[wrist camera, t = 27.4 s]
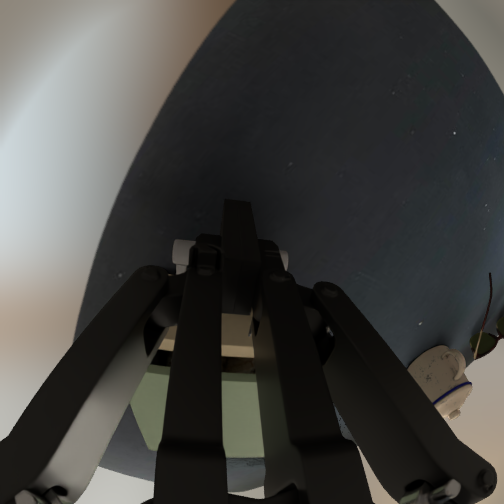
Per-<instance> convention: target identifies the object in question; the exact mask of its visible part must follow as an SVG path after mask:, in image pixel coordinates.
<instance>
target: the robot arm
mask: <svg viewBox="0 0 504 504" xmlns="http://www.w3.org/2000/svg"><path fill="white" fill-rule="evenodd" d="M251 310H253V316H252V321H251V325H250V329H249V334H248V336H249V337H251V333H252V341H253V351H254V361H255V371H256V381H257V391H258V400H259V410H260V420H261V429H262V439H263V448H264V457H265V466H266V475H265V480H264V495H265V498H264V499H255V498H249V497H244V496H239V495H234V494H229V493H228V488H227V468H226V454H225V449H224V446H223V427H222V313H224V314H236V315H249V316H250V314H251ZM171 326H177V330H176V336H175V342H174V348H173V355H172V361H171V368H170V375H169V382H168V389H167V397H166V405H165V413H164V422H163V432H162V439H161V441H160V443H159V445H158V450H157V457H156V468H155V482H154V498H152V499H149V500H147V501H145V502H143V503H141V504H375V503H373V501H372V497H371V494H370V490H369V486H368V482H367V478H366V475H365V471H364V467H363V464H362V460H361V457H360V453H359V450H358V448H357V446H356V444H355V443H354V442H353V441H352V440H348V439H345V438H344V437H343V436H342V433H341V430H340V427H339V423H338V419H337V416H336V412H335V409H334V405H335V406H336V408H337V410H338V412H339V413H340V415H341V417H342V419H343V420H344V422H345V424H346V426H347V427H348V429H349V431H350V432H351V434H352V436H353V438H354V439H355V441H356V443H357V445H358V446H359V448H360V450H361V452H362V453H363V455H364V457H365V458H366V460H367V462H368V464H369V465H370V467H371V469H372V470H373V472H374V474H375V476H376V477H377V479H378V480H379V482H380V483H381V485H382V486H383V488H384V489H385V490H386V491H387V492H388V494H389V495H390V496H391V497H392V498H393V499H395V500H396V501H397V502H398V503H399V504H475V503H477V502H479V501H481V500H483V499H485V498H487V497H488V496H490V495H491V494H492V493H493V491H494V489H495V488H496V484H497V474H496V471H495V469H494V467H493V466H492V465H491V464H490V463H489V462H487V461H486V460H485V459H483V458H482V457H481V456H479V455H478V454H477V453H475V452H474V451H473V450H472V449H470V448H469V447H468V446H466V445H465V444H463V443H462V442H461V441H459V439H457V437H456V436H455V434H454V433H453V431H452V430H451V428H450V427H449V426H448V424H447V423H446V421H445V420H444V419H443V417H442V416H441V414H440V413H439V412H438V410H437V409H436V408H435V406H434V405H433V403H432V402H431V401H430V399H429V398H428V397H427V395H426V394H425V393H424V391H423V390H422V389H421V387H420V386H419V385H418V383H417V382H416V381H415V379H414V378H413V377H412V375H411V374H410V373H409V372H408V370H407V369H406V368H405V366H404V365H403V364H402V362H401V361H400V360H399V359H398V357H397V356H396V355H395V354H394V352H393V351H392V350H391V349H390V347H389V346H388V345H387V343H386V342H385V341H384V340H383V339H382V337H381V336H380V335H379V334H378V332H377V331H376V330H375V329H374V327H373V326H372V325H371V324H370V322H369V321H368V320H367V319H366V318H365V316H364V315H363V314H362V313H361V312H360V310H359V309H358V308H357V307H356V306H355V304H354V303H353V302H352V301H351V300H350V298H349V297H348V296H347V295H346V294H345V293H344V291H343V290H342V289H341V288H340V287H338V286H337V285H335V284H333V283H330V282H322V281H321V282H317V283H316V284H315V285H314V287H313V289H310V288H307V287H303V286H300V285H298V284H296V282H295V279H294V277H293V276H292V274H290V273H289V272H288V271H285V267H284V264H283V261H282V258H281V254H280V251H279V248H278V246H277V245H276V244H275V243H274V242H273V241H270V240H262V239H257V234H256V229H255V224H254V219H253V214H252V208H251V203H250V202H246V201H238V200H230V199H225V200H224V207H223V214H222V222H221V229H220V235H211V234H200V235H199V236H198V237H197V238H196V242H195V245H193V246H191V248H190V249H189V263H188V270H187V271H185V272H184V273H181V274H176V275H168V272H167V271H166V270H165V269H164V268H162V267H159V266H154V265H150V266H144V267H141V268H139V269H137V270H136V271H135V272H134V273H133V274H132V275H131V276H130V278H129V279H128V280H127V281H126V282H125V283H124V284H123V285H122V286H121V288H120V289H119V290H118V291H117V292H116V293H115V294H114V296H113V297H112V298H111V299H110V300H109V301H108V302H107V304H106V305H105V306H104V307H103V308H102V309H101V311H100V312H99V313H98V314H97V315H96V316H95V318H94V319H93V320H92V321H91V322H90V324H89V325H88V326H87V327H86V329H85V330H84V331H83V332H82V333H81V335H80V336H79V337H78V338H77V340H76V341H75V342H74V343H73V345H72V346H71V347H70V349H69V350H68V351H67V352H66V354H65V355H64V356H63V358H62V359H61V360H60V362H59V363H58V364H57V365H56V367H55V368H54V370H53V371H52V372H51V373H50V375H49V376H48V378H47V379H46V380H45V382H44V383H43V384H42V386H41V387H40V389H39V390H38V392H37V393H36V395H35V396H34V397H33V399H32V400H31V402H30V403H29V405H28V406H27V407H26V409H25V410H24V412H23V413H22V415H21V417H20V418H19V420H18V421H17V423H16V424H15V426H14V427H13V429H12V431H11V432H10V434H9V436H7V437H6V438H4V439H3V440H2V441H0V504H74V503H75V502H76V501H77V500H78V499H79V497H80V496H81V495H82V494H83V492H84V491H85V490H86V488H87V486H88V484H89V483H90V481H91V479H92V477H93V475H94V473H95V471H96V469H97V467H98V464H99V462H100V460H101V458H102V456H103V454H104V452H105V450H106V448H107V446H108V444H109V442H110V440H111V438H112V436H113V434H114V432H115V430H116V428H117V426H118V424H119V422H120V420H121V418H122V416H123V414H124V412H125V410H126V408H127V407H128V405H129V403H130V401H131V399H132V397H133V395H134V393H135V391H136V389H137V387H138V386H139V384H140V382H141V380H142V378H143V376H144V374H145V373H146V371H147V369H148V367H149V365H150V363H151V361H152V360H153V358H154V356H155V354H156V352H157V350H158V349H159V347H160V345H161V343H162V341H163V340H164V338H165V336H166V334H167V332H168V330H169V327H171ZM330 330H331V331H332V332H333V334H334V335H333V337H332V336H331V335H330V333H329V331H330ZM332 401H333V402H332ZM333 403H334V405H333Z"/></svg>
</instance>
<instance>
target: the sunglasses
mask: <svg viewBox="0 0 504 504" xmlns="http://www.w3.org/2000/svg"><path fill="white" fill-rule="evenodd" d="M489 279H490V299H489V303H488V307H487V311H486V314H485V318H484V321H483V325H482V328H481V332H480V333H477V334H475V335H474V336H473V337H472V338H471V339H470V346H471V347H472V348H471V350H472V352H473V354H474V356H473V357H474V359H475V360H476V359H479V358H481V357H483V356H485V355H487V354H489V353H490V352H491V351H492V350H493V349H494V348H495V347H496V345H497V343H498V341H499V340H500V339H502V338H503V339H504V317H503V318H501V319H499V320H498V322H497V332H498V335H499V336H498V337H496V336H495V335H492V334H490V333H489V334H487V333H485V332H482V331H483V328H484V325H485V321H486V318H487V315H488V311H489V307H490V304H491V299H492V279H491V273H489Z"/></svg>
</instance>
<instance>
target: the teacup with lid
mask: <svg viewBox="0 0 504 504" xmlns="http://www.w3.org/2000/svg"><path fill="white" fill-rule="evenodd" d="M454 357H455V358H456V359H455V358H454ZM456 360H457V361H456ZM457 362H458V363H457ZM407 370H408V372H409V373H410V374H411V375H412V377H413V378H414V379H415V381H416V382H417V383H418V385H419V386H420V387H421V389H422V390H423V391H424V393H425V394H426V395H427V397H428V398H429V399H430V401H431V402H432V403H433V405H434V406H435V408H436V409H437V410H438V412H439V413H440V414H441V416H442V417H443V419H444V418H447V417H448V418H449V420H453V419H456V418H457V417H458V416H459V415H460V410H459V409H460V408H461V407H462V405H463V404H464V402H465V400H466V398H467V397H468V396H469V394H470V393H471V391H472V383H471V382H469V381H468V379H467V378H466V376H465V374H464V371H465V359H464V357H463V355H462V354H461V352H459V351H458V350H456V349H449V348H448V347H447V346H444V345H440V346H436V347H433V348H431V349H429V350H427V351H426V352H424V353H423V354H421V355H420V356H419V357H418V358H417V359H415V360H414V361H413V362H412V364H411V365H410V366H409V367H408V369H407Z"/></svg>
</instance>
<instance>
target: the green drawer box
mask: <svg viewBox="0 0 504 504" xmlns="http://www.w3.org/2000/svg"><path fill="white" fill-rule="evenodd" d="M170 368H171V367H165V366H158V365H151V364H150V365H149V367H148V369H147V371H146V373H145V374H144V376H143V378H142V380H141V382H140V384H139V386H138V387H137V389H136V391H135V393H134V395H133V397H132V399H131V401H130V405H131V408H132V410H133V413H134V416H135V418H136V421H137V423H138V426H139V428H140V430H141V433H142V435H143V437H144V440H145V442H146V444H147V446H148V449H149V450H154V451H157V450H158V445H159V443H160V441H161V439H162V432H163V422H164V413H165V405H166V397H167V389H168V382H169V375H170ZM222 427H223V446H224V449H225V454H226V457H264V448H263V439H262V429H261V420H260V410H259V400H258V391H257V381H256V374H244V373H226V372H222Z"/></svg>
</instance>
